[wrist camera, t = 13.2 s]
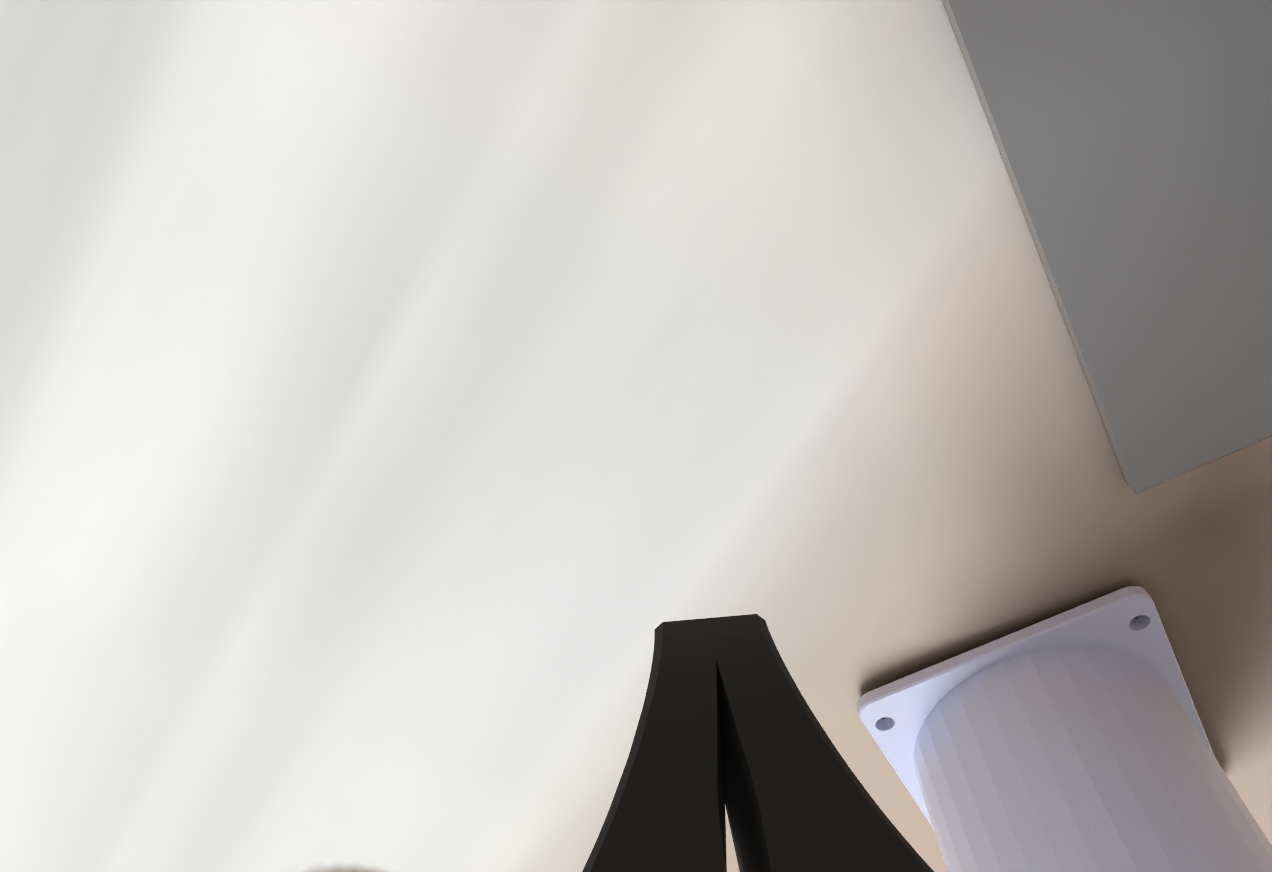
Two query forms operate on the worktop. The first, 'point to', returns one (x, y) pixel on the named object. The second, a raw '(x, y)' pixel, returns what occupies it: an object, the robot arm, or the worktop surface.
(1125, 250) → the large grey box
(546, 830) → the worktop surface
